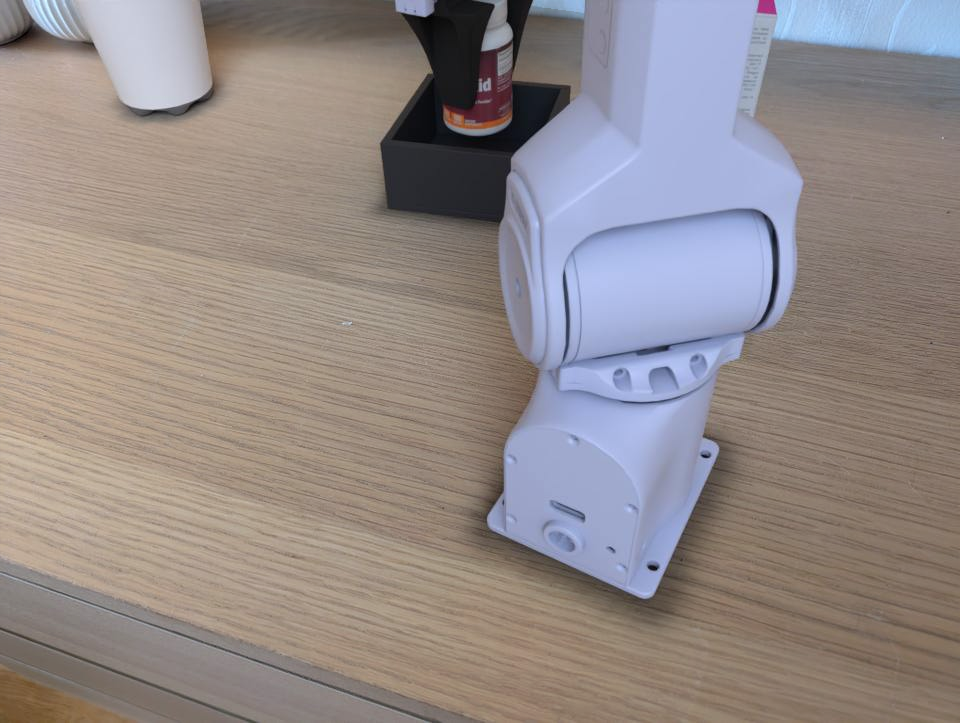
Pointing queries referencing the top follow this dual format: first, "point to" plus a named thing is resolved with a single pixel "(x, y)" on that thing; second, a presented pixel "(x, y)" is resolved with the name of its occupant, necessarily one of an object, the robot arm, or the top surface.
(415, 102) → the open storage bin
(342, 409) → the top surface
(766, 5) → the supplement box
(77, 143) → the top surface
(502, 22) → the pill bottle
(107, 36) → the cup
